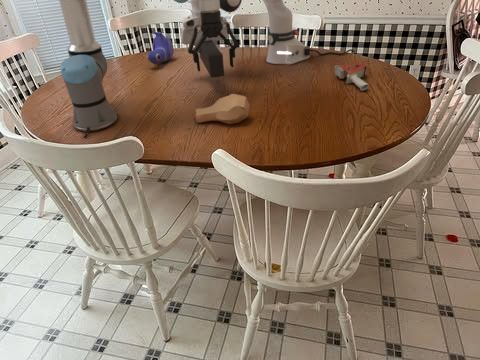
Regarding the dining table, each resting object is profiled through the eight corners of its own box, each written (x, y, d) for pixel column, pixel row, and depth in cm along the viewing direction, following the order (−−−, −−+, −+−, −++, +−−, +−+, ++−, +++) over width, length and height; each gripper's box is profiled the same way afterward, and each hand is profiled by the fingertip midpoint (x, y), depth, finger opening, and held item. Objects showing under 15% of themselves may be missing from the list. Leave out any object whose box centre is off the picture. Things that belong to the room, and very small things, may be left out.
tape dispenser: (364, 96, 143) (378, 76, 155) (367, 83, 139) (381, 65, 152) (323, 87, 150) (339, 69, 163) (324, 75, 147) (341, 57, 159)
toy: (162, 64, 198) (141, 70, 176) (157, 31, 191) (135, 33, 169) (178, 63, 196) (160, 69, 173) (174, 30, 189) (154, 32, 167)
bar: (224, 76, 142) (222, 54, 137) (211, 77, 141) (209, 56, 136) (211, 56, 164) (209, 37, 159) (200, 57, 163) (197, 38, 158)
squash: (253, 125, 125) (249, 104, 119) (198, 134, 127) (191, 114, 121) (250, 107, 133) (246, 86, 126) (198, 116, 134) (192, 96, 128)
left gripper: (240, 5, 135) (242, 61, 148) (175, 12, 131) (183, 69, 144) (245, 8, 129) (247, 66, 142) (177, 16, 125) (185, 75, 138)
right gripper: (224, 14, 155) (227, 47, 163) (178, 20, 152) (183, 52, 160) (228, 17, 150) (230, 51, 158) (180, 23, 147) (185, 57, 155)
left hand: (215, 68), depth 143 cm, fingers open, 13 cm apart
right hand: (206, 52), depth 159 cm, fingers closed on bar, 5 cm apart
